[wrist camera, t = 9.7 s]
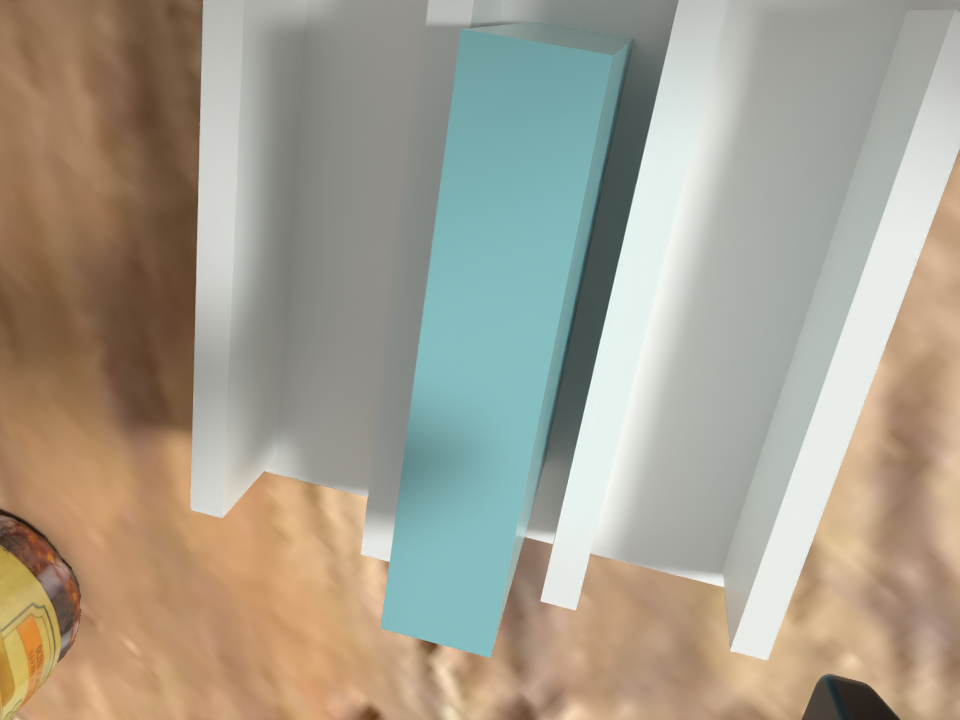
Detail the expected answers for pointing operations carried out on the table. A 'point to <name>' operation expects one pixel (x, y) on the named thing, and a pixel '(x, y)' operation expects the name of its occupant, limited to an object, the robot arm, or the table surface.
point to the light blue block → (498, 316)
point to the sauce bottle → (32, 613)
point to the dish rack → (609, 271)
